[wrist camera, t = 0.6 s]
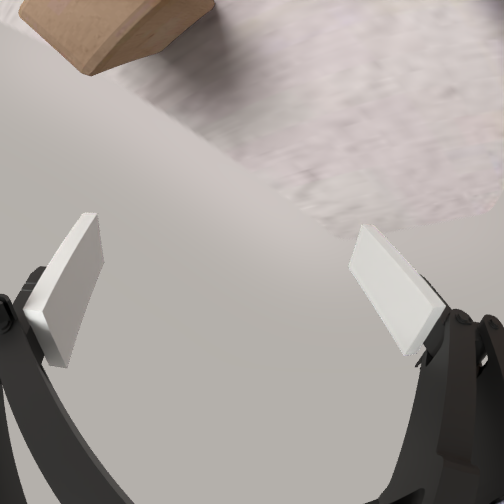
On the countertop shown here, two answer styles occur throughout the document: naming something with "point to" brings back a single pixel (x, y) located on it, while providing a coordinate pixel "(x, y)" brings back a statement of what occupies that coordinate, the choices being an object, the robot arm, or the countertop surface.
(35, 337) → the robot arm
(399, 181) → the countertop surface
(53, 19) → the wooden block
